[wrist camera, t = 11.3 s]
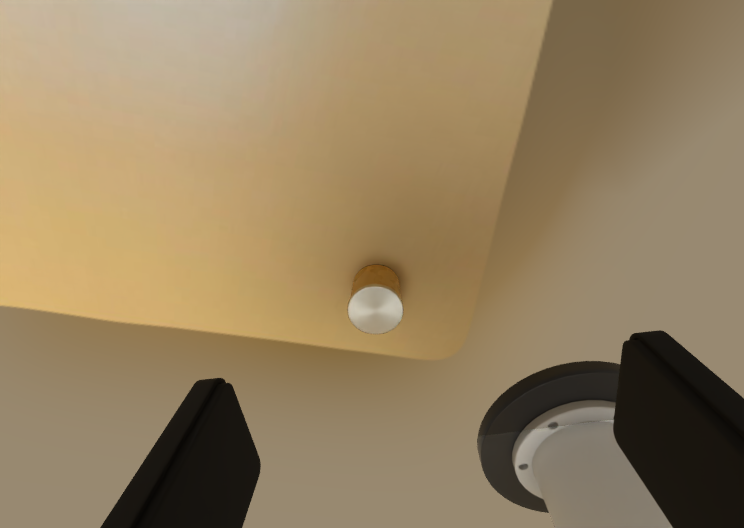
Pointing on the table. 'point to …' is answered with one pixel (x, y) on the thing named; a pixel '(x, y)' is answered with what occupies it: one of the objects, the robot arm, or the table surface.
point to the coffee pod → (375, 300)
